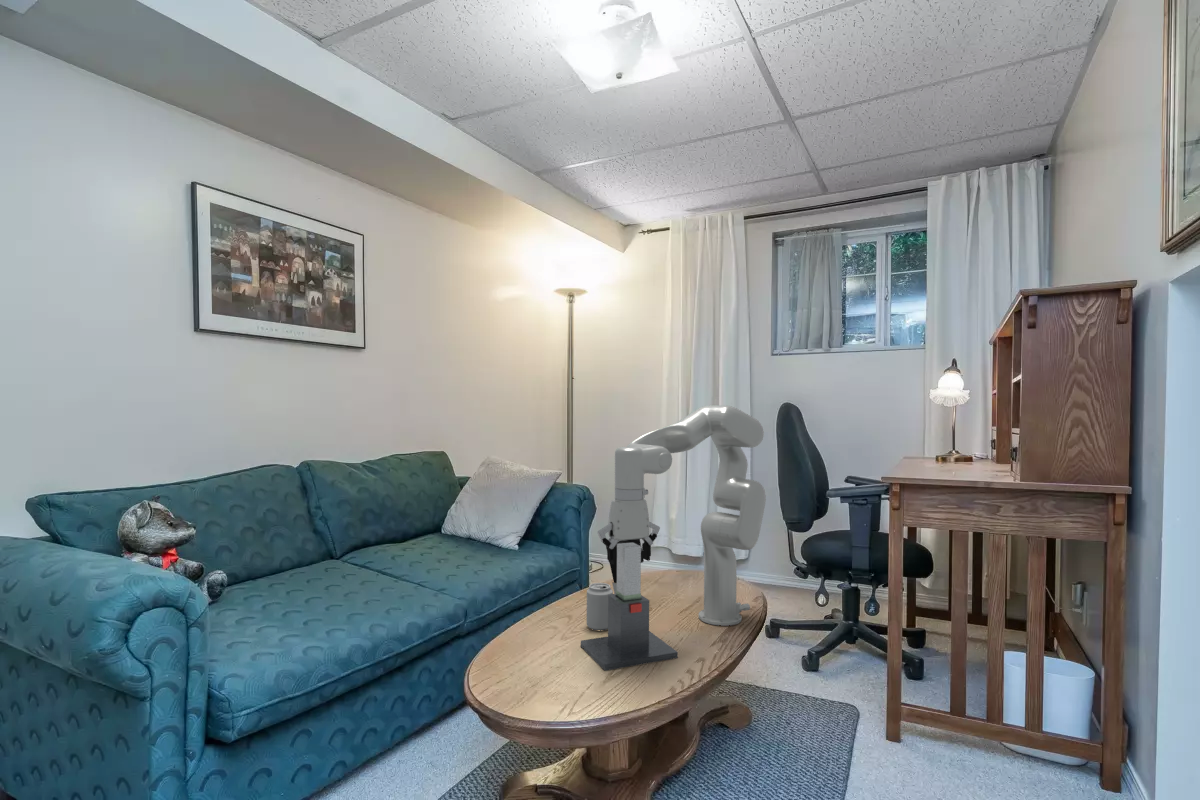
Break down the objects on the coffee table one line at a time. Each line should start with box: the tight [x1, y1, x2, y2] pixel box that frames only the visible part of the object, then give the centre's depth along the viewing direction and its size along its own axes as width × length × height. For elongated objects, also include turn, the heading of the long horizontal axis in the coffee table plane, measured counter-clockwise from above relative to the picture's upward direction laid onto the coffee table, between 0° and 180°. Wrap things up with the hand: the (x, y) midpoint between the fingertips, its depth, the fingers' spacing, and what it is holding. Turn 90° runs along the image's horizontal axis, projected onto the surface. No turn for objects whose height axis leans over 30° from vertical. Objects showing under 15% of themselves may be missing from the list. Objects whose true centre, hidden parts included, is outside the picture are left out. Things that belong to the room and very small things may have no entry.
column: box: [616, 542, 642, 602], centre depth 157 cm, size 5×5×20 cm
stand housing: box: [580, 593, 679, 671], centre depth 156 cm, size 20×16×14 cm
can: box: [586, 582, 614, 632], centre depth 174 cm, size 8×8×12 cm
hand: (629, 561), depth 157 cm, fingers open, 9 cm apart
